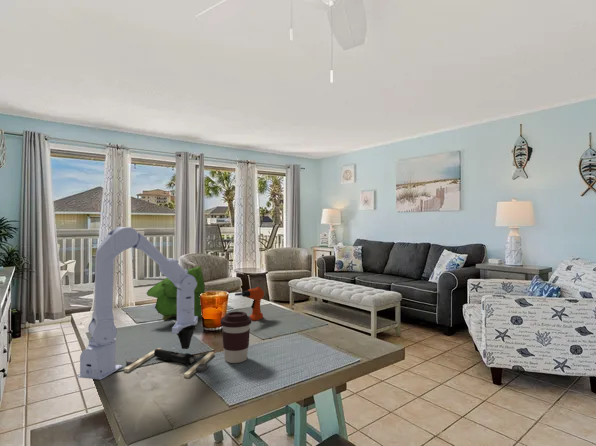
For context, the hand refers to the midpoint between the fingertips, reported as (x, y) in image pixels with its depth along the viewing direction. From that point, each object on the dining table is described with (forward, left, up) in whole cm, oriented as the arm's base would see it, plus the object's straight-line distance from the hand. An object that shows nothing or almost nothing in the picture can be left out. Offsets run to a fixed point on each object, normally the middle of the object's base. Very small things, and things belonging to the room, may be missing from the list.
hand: (185, 348), depth 126 cm
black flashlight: (-7, 0, -2) cm, 7 cm away
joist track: (-9, 0, -2) cm, 9 cm away
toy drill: (+42, -9, -2) cm, 43 cm away
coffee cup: (-2, -19, -2) cm, 19 cm away
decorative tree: (+38, +24, -2) cm, 45 cm away
